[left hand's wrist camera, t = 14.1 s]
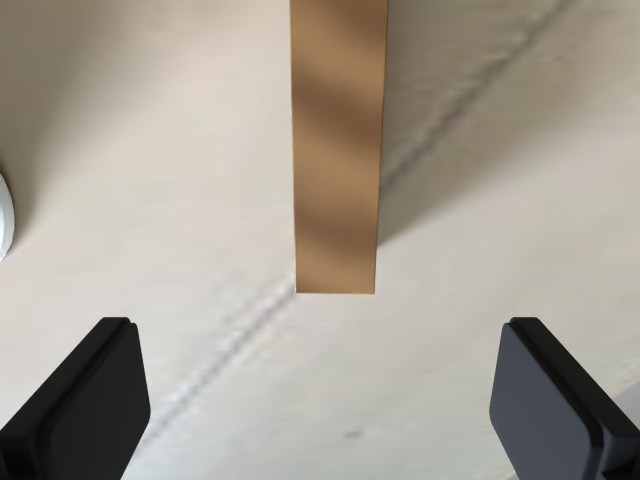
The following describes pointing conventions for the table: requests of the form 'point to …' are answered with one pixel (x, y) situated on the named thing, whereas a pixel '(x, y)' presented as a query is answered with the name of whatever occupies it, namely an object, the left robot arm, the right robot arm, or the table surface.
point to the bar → (337, 141)
